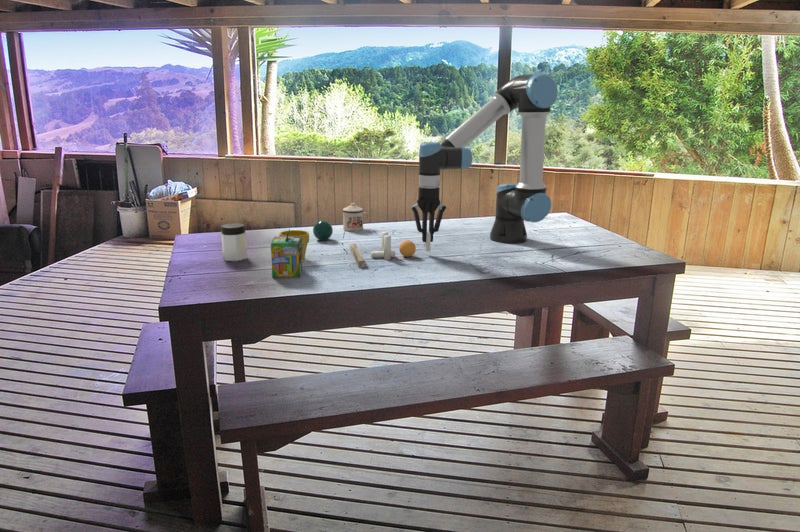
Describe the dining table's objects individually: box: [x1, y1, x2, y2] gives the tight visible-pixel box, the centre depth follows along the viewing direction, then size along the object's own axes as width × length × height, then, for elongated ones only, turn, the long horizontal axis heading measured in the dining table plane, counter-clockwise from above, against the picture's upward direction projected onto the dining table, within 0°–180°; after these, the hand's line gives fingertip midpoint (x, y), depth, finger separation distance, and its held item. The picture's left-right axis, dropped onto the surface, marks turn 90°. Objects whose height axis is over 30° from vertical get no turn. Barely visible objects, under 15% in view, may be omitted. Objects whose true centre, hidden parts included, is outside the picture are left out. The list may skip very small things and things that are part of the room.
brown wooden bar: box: [349, 243, 366, 269], centre depth 205 cm, size 2×24×2 cm, turn 12°
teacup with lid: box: [342, 202, 370, 232], centre depth 250 cm, size 12×9×12 cm
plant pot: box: [278, 229, 310, 261], centre depth 201 cm, size 10×10×10 cm
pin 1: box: [381, 231, 389, 251], centre depth 208 cm, size 2×2×8 cm
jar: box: [220, 222, 248, 262], centre depth 201 cm, size 9×8×12 cm
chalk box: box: [270, 228, 303, 279], centre depth 184 cm, size 9×9×15 cm
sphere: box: [312, 220, 333, 241], centre depth 230 cm, size 8×8×8 cm
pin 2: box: [383, 234, 392, 261], centre depth 204 cm, size 2×2×8 cm
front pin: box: [370, 250, 396, 259], centre depth 207 cm, size 2×2×8 cm
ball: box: [399, 240, 417, 258], centre depth 208 cm, size 6×6×6 cm
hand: (427, 250), depth 210 cm, fingers closed
